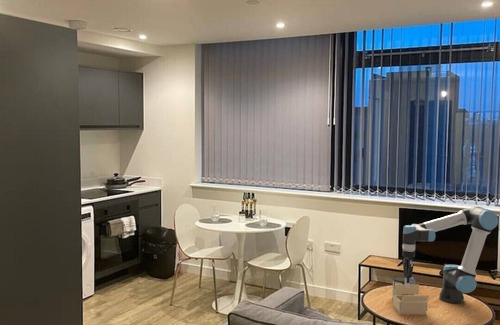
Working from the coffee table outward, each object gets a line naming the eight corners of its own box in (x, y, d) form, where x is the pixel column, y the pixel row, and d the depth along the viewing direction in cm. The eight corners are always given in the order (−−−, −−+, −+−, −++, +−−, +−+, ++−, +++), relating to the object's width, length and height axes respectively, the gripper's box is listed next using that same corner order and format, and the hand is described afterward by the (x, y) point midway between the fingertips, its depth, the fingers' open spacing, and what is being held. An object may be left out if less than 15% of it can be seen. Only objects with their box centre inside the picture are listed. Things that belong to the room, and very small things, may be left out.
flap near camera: (429, 295, 297) (429, 296, 296) (426, 301, 301) (426, 301, 300) (404, 295, 296) (404, 295, 296) (401, 300, 300) (401, 301, 300)
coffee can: (407, 297, 331) (408, 277, 330) (409, 303, 321) (410, 281, 320) (391, 296, 333) (392, 275, 332) (392, 301, 323) (393, 280, 322)
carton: (419, 307, 313) (420, 295, 313) (427, 315, 301) (427, 302, 301) (392, 307, 313) (393, 295, 312) (399, 314, 301) (399, 301, 300)
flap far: (418, 294, 313) (418, 294, 313) (418, 284, 313) (418, 284, 313) (394, 294, 312) (394, 294, 312) (395, 284, 312) (394, 284, 312)
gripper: (399, 248, 317) (397, 284, 318) (406, 252, 304) (405, 290, 305) (410, 248, 318) (409, 284, 319) (418, 252, 305) (416, 290, 306)
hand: (407, 287), depth 312 cm, fingers closed
